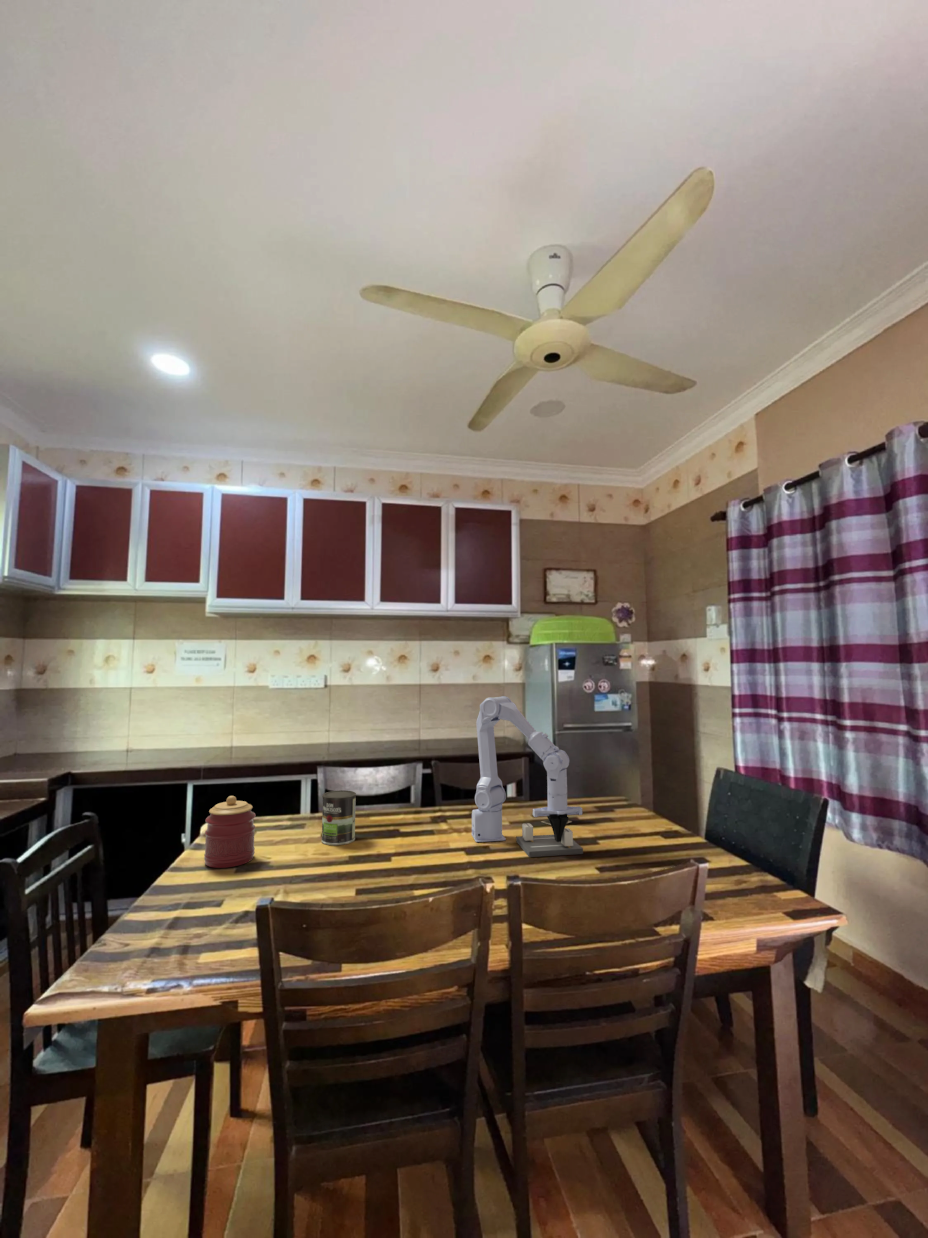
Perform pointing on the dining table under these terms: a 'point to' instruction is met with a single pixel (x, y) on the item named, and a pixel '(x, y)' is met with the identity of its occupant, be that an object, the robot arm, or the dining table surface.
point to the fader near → (567, 837)
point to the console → (547, 846)
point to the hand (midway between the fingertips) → (558, 840)
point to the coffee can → (338, 817)
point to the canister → (229, 834)
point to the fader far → (527, 831)
